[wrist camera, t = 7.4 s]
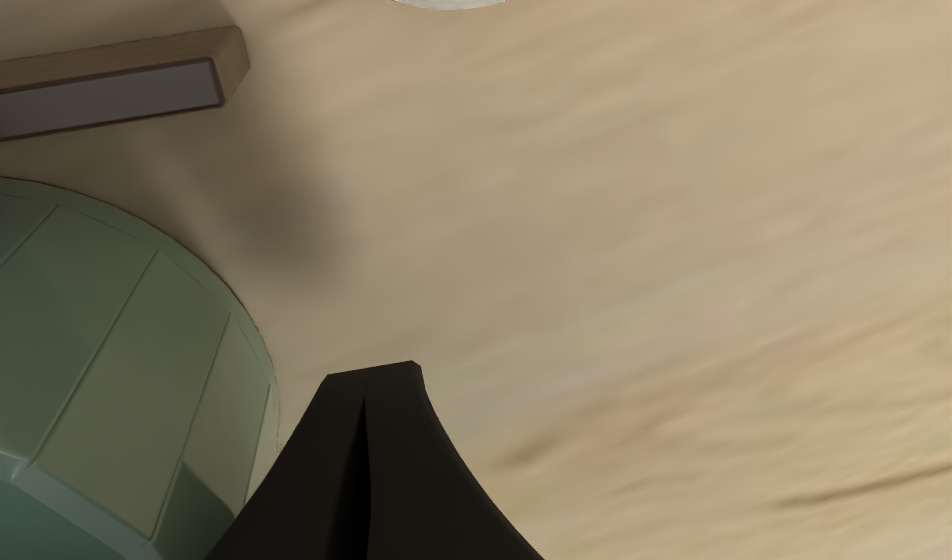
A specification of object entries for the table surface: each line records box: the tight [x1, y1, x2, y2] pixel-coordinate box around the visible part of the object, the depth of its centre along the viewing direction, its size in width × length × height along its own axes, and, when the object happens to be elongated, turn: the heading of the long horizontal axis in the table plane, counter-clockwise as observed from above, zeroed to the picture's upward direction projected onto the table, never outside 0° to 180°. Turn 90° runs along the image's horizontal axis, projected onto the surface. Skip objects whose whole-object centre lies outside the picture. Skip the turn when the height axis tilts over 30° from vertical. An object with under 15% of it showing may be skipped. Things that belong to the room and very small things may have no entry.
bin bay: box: [0, 26, 250, 142], centre depth 12 cm, size 11×10×2 cm
